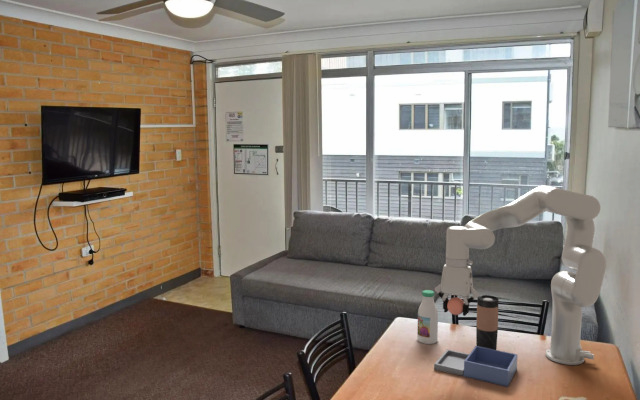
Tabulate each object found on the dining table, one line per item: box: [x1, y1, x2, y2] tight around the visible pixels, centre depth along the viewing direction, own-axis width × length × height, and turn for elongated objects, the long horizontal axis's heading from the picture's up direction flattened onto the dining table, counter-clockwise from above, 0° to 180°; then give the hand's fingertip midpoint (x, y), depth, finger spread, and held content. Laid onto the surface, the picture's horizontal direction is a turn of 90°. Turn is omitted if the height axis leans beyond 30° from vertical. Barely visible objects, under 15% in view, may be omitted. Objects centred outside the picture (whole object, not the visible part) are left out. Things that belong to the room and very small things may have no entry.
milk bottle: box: [416, 289, 439, 345], centre depth 201 cm, size 8×8×20 cm
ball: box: [447, 296, 464, 316], centre depth 179 cm, size 6×6×6 cm
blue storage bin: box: [463, 345, 518, 388], centre depth 175 cm, size 14×14×6 cm
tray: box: [433, 349, 470, 377], centre depth 181 cm, size 10×14×2 cm
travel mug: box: [475, 294, 500, 350], centre depth 192 cm, size 8×8×20 cm
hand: (455, 312), depth 179 cm, fingers closed on ball, 5 cm apart
